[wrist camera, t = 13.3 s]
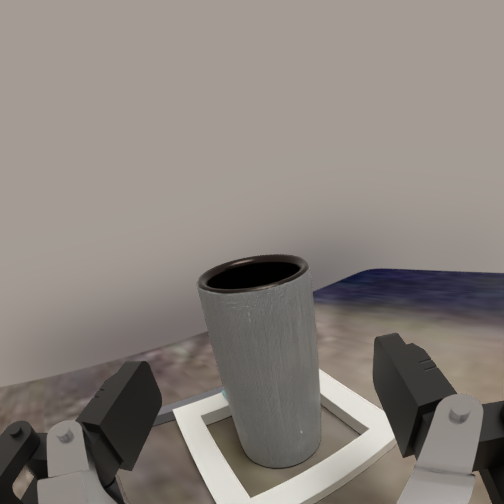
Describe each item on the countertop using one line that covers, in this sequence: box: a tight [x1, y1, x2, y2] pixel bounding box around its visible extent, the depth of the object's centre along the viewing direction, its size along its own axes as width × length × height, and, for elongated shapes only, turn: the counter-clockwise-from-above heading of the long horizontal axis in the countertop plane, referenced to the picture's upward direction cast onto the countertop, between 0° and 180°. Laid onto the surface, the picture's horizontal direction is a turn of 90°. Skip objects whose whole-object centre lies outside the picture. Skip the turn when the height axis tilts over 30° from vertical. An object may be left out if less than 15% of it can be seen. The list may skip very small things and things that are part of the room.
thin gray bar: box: [153, 386, 224, 426], centre depth 16 cm, size 16×1×1 cm, turn 116°
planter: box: [197, 254, 322, 468], centre depth 13 cm, size 4×4×10 cm
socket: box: [173, 369, 397, 504], centre depth 14 cm, size 10×10×1 cm
